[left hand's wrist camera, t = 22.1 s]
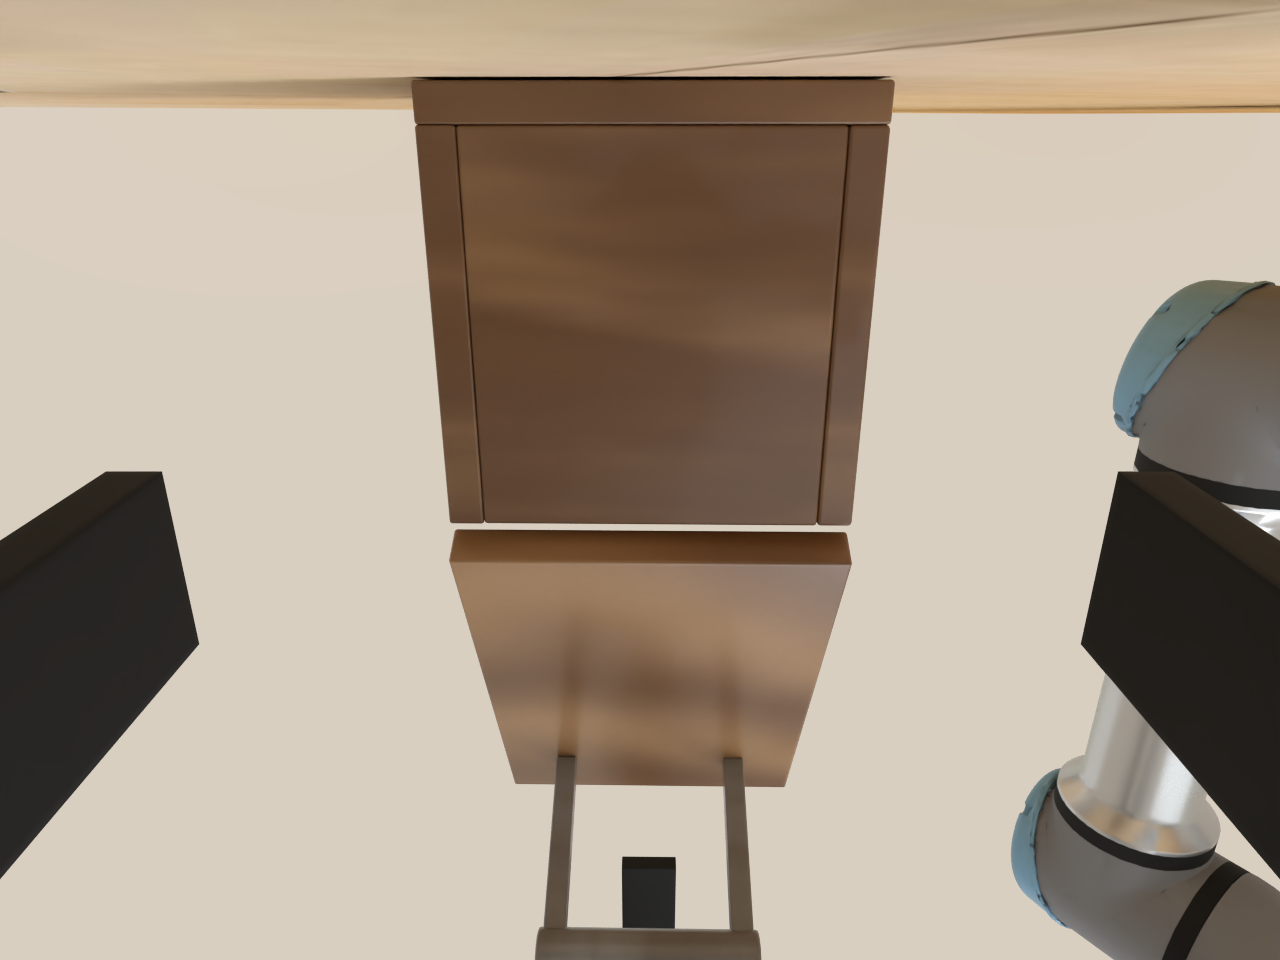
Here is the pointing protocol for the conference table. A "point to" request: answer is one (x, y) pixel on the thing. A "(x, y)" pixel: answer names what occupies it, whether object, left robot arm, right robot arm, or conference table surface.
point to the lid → (650, 683)
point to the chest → (652, 295)
